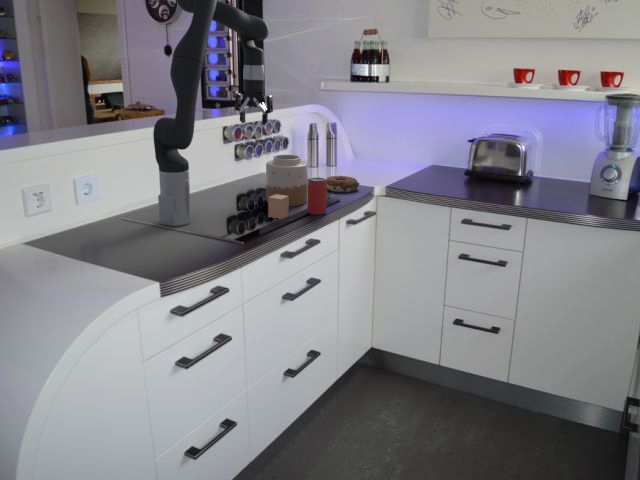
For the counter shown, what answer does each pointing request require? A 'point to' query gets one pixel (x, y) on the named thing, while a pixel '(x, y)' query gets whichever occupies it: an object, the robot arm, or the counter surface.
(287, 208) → the block
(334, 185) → the donut
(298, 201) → the vase
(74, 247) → the counter surface
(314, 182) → the beer can
